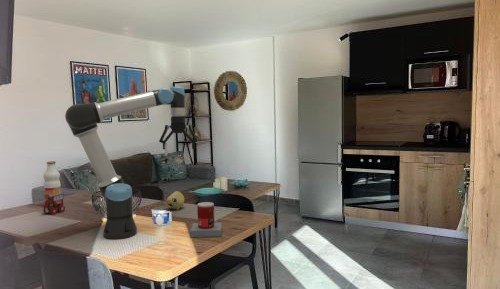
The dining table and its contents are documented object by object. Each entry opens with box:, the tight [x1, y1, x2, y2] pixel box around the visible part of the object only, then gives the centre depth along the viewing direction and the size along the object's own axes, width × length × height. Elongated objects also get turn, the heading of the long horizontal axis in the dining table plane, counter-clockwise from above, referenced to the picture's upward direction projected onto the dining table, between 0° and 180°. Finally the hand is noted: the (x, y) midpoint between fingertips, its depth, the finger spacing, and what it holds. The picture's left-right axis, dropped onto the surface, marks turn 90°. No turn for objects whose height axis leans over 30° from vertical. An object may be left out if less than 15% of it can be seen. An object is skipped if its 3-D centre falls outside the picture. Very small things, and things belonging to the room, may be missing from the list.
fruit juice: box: [43, 161, 62, 203], centre depth 231 cm, size 9×9×28 cm
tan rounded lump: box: [164, 190, 185, 211], centre depth 220 cm, size 10×12×11 cm
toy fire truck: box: [42, 193, 66, 215], centre depth 214 cm, size 7×12×10 cm, turn 155°
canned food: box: [196, 201, 215, 229], centre depth 175 cm, size 8×8×11 cm
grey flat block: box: [190, 222, 223, 238], centre depth 175 cm, size 14×12×3 cm
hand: (178, 155), depth 198 cm, fingers open, 13 cm apart
